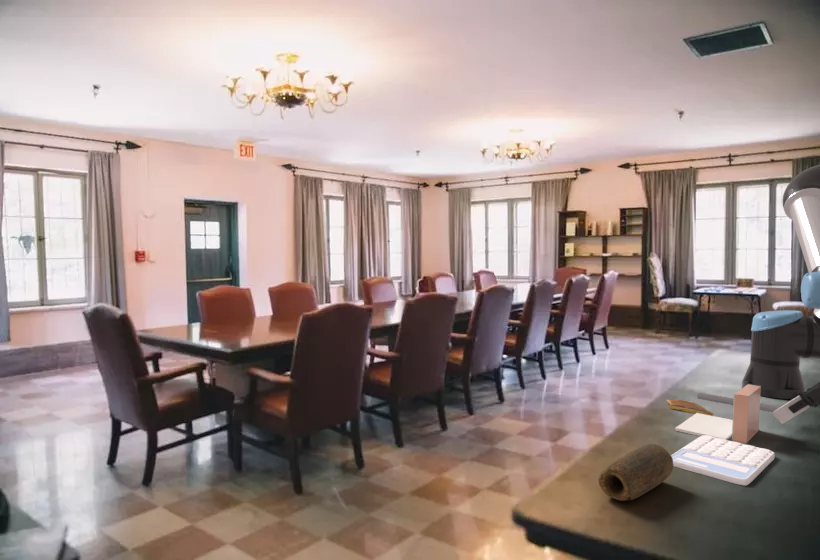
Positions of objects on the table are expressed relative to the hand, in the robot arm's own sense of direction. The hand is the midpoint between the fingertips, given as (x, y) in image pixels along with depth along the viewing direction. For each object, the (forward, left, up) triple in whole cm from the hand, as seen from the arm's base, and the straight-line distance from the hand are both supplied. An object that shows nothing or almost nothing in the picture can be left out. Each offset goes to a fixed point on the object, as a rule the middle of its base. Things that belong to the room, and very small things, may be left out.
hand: (777, 417), depth 114 cm
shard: (-13, -20, -6) cm, 25 cm away
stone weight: (+45, -12, -5) cm, 47 cm away
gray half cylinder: (-27, -13, -6) cm, 30 cm away
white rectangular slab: (0, -13, -5) cm, 14 cm away
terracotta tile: (0, -6, -5) cm, 8 cm away
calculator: (+20, -6, -6) cm, 22 cm away
